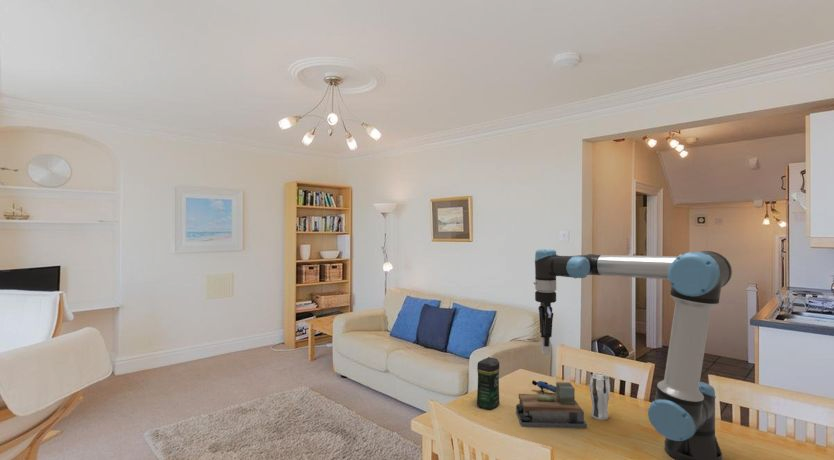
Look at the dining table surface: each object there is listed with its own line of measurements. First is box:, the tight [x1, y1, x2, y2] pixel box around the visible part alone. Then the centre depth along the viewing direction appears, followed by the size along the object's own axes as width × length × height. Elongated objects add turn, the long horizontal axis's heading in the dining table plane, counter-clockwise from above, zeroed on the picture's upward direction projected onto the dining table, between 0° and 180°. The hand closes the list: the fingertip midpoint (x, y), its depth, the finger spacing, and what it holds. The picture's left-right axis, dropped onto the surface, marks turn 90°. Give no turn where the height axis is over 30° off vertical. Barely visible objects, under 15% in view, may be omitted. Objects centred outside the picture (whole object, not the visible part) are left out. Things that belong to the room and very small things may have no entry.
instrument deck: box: [518, 381, 582, 413], centre depth 156 cm, size 12×20×8 cm, turn 86°
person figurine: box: [531, 380, 556, 395], centre depth 180 cm, size 11×4×18 cm
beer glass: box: [589, 373, 611, 421], centre depth 159 cm, size 7×7×15 cm
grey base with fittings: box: [515, 401, 588, 429], centre depth 156 cm, size 12×23×5 cm, turn 86°
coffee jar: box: [476, 356, 500, 410], centre depth 170 cm, size 10×8×19 cm
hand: (545, 354), depth 156 cm, fingers closed
